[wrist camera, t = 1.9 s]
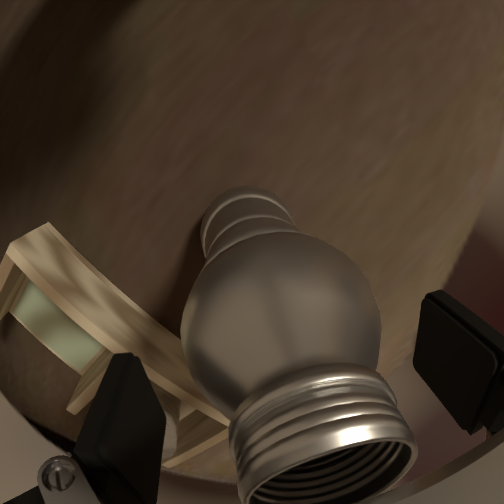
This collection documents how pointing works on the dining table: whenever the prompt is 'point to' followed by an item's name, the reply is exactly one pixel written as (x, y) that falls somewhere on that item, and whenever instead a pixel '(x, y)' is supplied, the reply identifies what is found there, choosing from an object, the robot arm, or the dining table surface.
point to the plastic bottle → (291, 358)
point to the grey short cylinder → (169, 418)
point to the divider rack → (99, 331)
